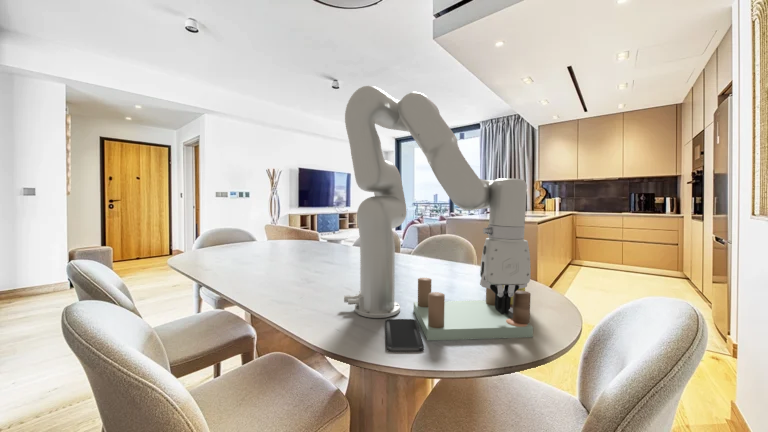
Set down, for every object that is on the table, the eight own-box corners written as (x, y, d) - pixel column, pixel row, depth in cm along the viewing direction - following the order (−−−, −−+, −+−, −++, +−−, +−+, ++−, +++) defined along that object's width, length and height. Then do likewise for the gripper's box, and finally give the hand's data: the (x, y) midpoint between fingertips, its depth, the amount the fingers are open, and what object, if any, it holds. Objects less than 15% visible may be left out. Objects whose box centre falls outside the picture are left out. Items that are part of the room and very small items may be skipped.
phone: (386, 348, 62) (385, 318, 77) (386, 353, 62) (385, 323, 77) (425, 348, 62) (416, 318, 77) (425, 353, 63) (416, 323, 78)
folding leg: (491, 307, 80) (492, 282, 80) (504, 306, 81) (504, 281, 81) (519, 324, 69) (520, 295, 69) (533, 323, 70) (534, 294, 70)
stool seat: (427, 340, 67) (427, 298, 67) (413, 310, 85) (413, 277, 85) (532, 337, 69) (533, 296, 69) (497, 308, 87) (498, 275, 86)
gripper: (480, 235, 66) (476, 318, 67) (547, 236, 67) (542, 318, 68) (468, 230, 73) (465, 306, 74) (529, 231, 74) (524, 306, 75)
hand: (502, 311), depth 71 cm, fingers closed
